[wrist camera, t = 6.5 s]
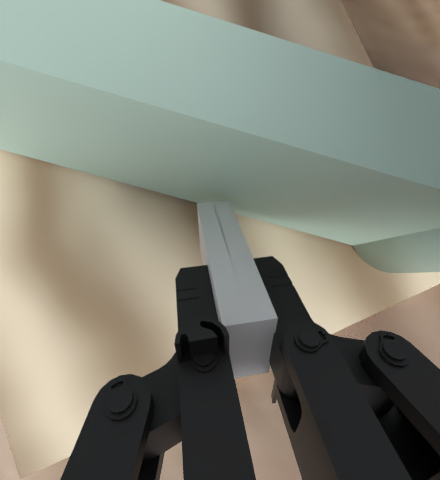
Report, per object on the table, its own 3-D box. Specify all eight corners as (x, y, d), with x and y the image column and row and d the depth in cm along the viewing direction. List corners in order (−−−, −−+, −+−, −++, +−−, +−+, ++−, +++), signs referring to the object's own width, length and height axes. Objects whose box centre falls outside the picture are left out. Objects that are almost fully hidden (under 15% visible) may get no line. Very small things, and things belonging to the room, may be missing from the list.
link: (434, 200, 16) (657, 128, 8) (424, 282, 15) (658, 287, 8) (-58, 57, 15) (-346, -197, 7) (-99, 142, 14) (-479, -36, 6)
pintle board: (282, -97, 20) (387, -535, 9) (458, 269, 17) (892, 254, 6) (-118, -17, 16) (-730, -598, 5) (30, 467, 13) (-591, 1191, 3)
